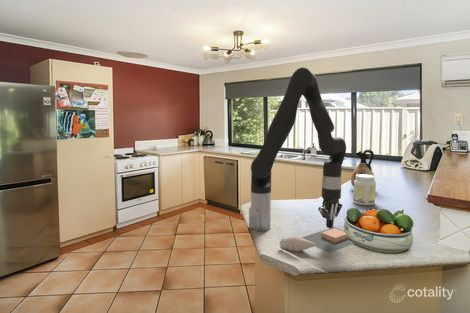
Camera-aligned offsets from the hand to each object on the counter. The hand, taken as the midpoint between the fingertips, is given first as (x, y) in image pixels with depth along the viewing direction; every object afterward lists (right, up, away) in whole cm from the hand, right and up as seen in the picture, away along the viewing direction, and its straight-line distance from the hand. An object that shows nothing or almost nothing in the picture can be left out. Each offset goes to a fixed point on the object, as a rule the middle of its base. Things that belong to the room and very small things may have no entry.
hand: (329, 227), depth 121 cm
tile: (-1, -4, 0) cm, 4 cm away
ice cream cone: (-15, -7, -9) cm, 19 cm away
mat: (+2, -6, +2) cm, 6 cm away
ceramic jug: (+52, +5, +87) cm, 102 cm away
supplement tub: (+39, +1, +57) cm, 69 cm away
